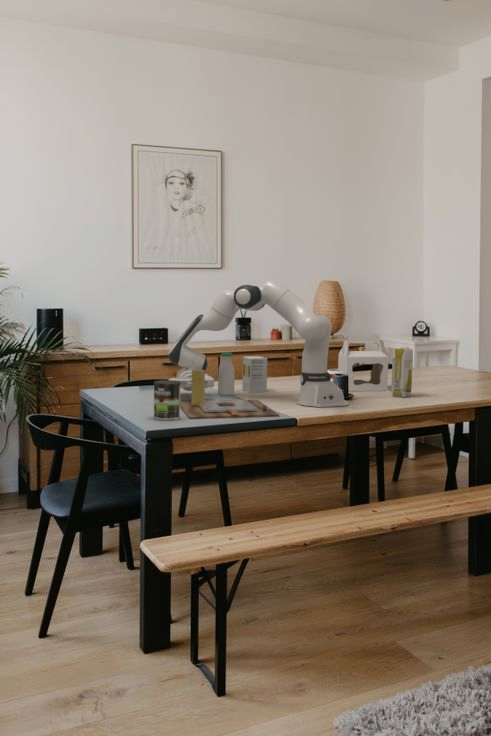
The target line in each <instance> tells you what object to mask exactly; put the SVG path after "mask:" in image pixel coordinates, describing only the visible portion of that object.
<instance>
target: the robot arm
mask: <svg viewBox="0 0 491 736" xmlns="http://www.w3.org/2000/svg"><path fill="white" fill-rule="evenodd" d="M265 305H267V306H269V308H271V309H272V310H273V311H274V312H276V313H277V314H278V315H279V316H281V317H282V318H283V319H284V320H286V321H287V322H288V324H289V325H290V326H291V327H292V328H293V329H294V330H295V331H296V333H298V335H299V336H300V338H301V339H302V340H304V341H305V342H304V347H303V351H302V354H301V371H300V376H299V379H300V380H299V382H300V383H299V384H300V391H299V394H298V399H297V404H298V405H300V406H306V407H315V408H330V407H331V408H333V407H346V406H349V405H350V402H349V401H347V400H345V397H344V392H343V390H342V389H340V388H339V387H338V385H337V384H335V383H334V382H333V381H332V379H333V380H334V378H335V377H336V376H335V374H334V373H329V372H328V355H329V354H328V353H329V347H330V342H331V335H332V334H331V333H332V330H333V323H332V322H331V320H330V319H329V318H328V317H327V316H325V315H322V314H316V313H314V312H313V311H312V310H311V309H310V308H309V307H308V306H307V304H306V303H305V302H304V300H302V299H301V298H300V297H298V296H297V295H296V294H295V293H294V292H292V291H291V290H290V289H289V288H288V287H286V286H284V285H283V284H281V283H279V282H278V281H276V280H273V279H269V280H267V281H265V282H264V283H263V284H262V285H261V286H260V287H259V286H256V285H252V284H243V285H240V286H239V287H237V288H236V289H235V291H234V290H232V289H224V290H223V291H222V292H221V293H220V294H219V295H218V296H217V298H216V299H215V301H214V303H213V304H212V306H211V307H210V309H209V310H208V311H207V312H206V313H203V314H199V315H198V316H196V317H195V318H194V320H193V321H192V322H191V323H190V324H189V326H188V327H187V328H186V329H185V330H184V332H183V333H182V334H181V336H180V337H179V338H178V339H177V340H176V341H175V342H174V343H173V344H172V345H171V347H170V349H168V352H167V358H168V360H169V362H170V363H172V364H174V365H176V366H179V367H182V368H180V369H179V370H178V371H177V373H176V376H175V377H170V378H168V380H174V381H180V382H181V384H180V389H183V390H184V391H186V392H187V391H188V392H192V370H205V371H207V367H208V363H209V362H208V358H207V355H205V354H204V353H202V352H200V351H198V350H196V349H194V348H192V347H189V346H188V343H189V342H190V341H191V339H192V338H193V337H194V336H195V334H196V333H198V332H200V331H210V332H220V331H221V332H222V331H224V330H225V329H227V328H228V327H229V326H230V325H231V323H232V321H233V319H234V318H235V315H236V314H237V312H239V310H240V309H242V310H246V311H254V312H255V311H256V312H257V311H260V310H261V309H263V308H264V307H265ZM214 387H215V379H214V378H213V377H212V376H211V375H209V374H208V373H205V389H208V388H214Z"/></svg>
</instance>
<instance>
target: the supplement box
mask: <svg viewBox="0 0 491 736" xmlns="http://www.w3.org/2000/svg"><path fill="white" fill-rule="evenodd" d="M267 385H268V357H265V356H260V355H259V356H257V355H256V356H253V355H252V356H243V357H242V391H244V392H247V393H249V394H254V393H267V392H268V391H267V390H268V389H267V388H268V386H267Z"/></svg>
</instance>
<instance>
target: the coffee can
mask: <svg viewBox="0 0 491 736" xmlns="http://www.w3.org/2000/svg"><path fill="white" fill-rule="evenodd" d="M180 384H181V382H180V381H174V380H169V379H168V380H167V379H163V380H162V379H160V380H155V381H153V385H154V386H153V388H154V390H153V392H154V393H153V394H154V395H153V399H154V400H153V418H154V419H155V420H159V421H174V420H175V419H176V420H179V419H181V408H180V401H181V388H180Z"/></svg>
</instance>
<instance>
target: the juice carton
mask: <svg viewBox="0 0 491 736" xmlns="http://www.w3.org/2000/svg"><path fill="white" fill-rule="evenodd" d="M392 351H393V352H392V359H391V361H392V367H391V385H390V386H391V387H390V390H391V391H390V392H391V393H390V394H391V397H393V396H395V397H394V398H402V397H404V398H408V397H410V396H412V395H411V394H412V388H413V387H412V384H413V369H414V368H413V363H414V352H413V351H414V350H413V348H410V347H409V346H407V345H406V346H403V347H399V348H393V350H392ZM407 396H408V397H407Z"/></svg>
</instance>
